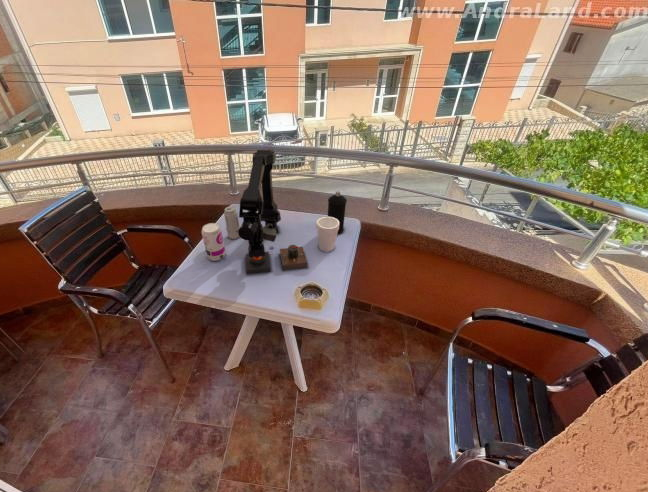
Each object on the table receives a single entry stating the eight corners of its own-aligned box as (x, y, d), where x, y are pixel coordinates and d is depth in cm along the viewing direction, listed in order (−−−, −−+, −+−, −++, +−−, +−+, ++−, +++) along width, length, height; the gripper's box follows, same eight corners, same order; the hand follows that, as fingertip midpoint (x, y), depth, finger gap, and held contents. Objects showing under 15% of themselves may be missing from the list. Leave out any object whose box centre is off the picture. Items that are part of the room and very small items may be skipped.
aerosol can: (339, 236, 148) (343, 197, 135) (323, 231, 151) (325, 193, 138) (346, 227, 153) (350, 189, 140) (330, 223, 157) (333, 185, 144)
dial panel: (280, 254, 140) (279, 248, 138) (302, 251, 141) (302, 246, 138) (283, 270, 132) (282, 264, 130) (307, 267, 132) (307, 262, 130)
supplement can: (228, 251, 144) (223, 223, 134) (220, 263, 138) (214, 234, 128) (212, 249, 146) (206, 221, 136) (204, 260, 140) (197, 231, 130)
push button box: (246, 257, 140) (245, 250, 137) (268, 255, 140) (268, 248, 137) (246, 274, 131) (245, 266, 129) (271, 271, 132) (270, 264, 129)
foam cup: (336, 254, 138) (338, 229, 129) (315, 253, 139) (315, 228, 131) (337, 241, 145) (339, 217, 136) (317, 240, 146) (318, 216, 138)
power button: (253, 258, 135) (252, 254, 134) (261, 257, 136) (261, 253, 134) (253, 263, 133) (253, 260, 132) (262, 262, 133) (262, 259, 132)
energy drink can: (240, 239, 150) (236, 212, 141) (227, 240, 151) (222, 212, 141) (241, 232, 155) (237, 205, 145) (229, 233, 155) (224, 205, 146)
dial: (289, 258, 133) (288, 250, 130) (287, 252, 136) (287, 244, 133) (298, 257, 133) (298, 249, 130) (297, 251, 136) (296, 243, 133)
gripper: (277, 236, 116) (279, 269, 126) (272, 210, 130) (274, 242, 140) (246, 239, 116) (251, 272, 126) (245, 213, 130) (249, 244, 140)
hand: (257, 256), depth 133 cm, fingers closed, pressing on power button
